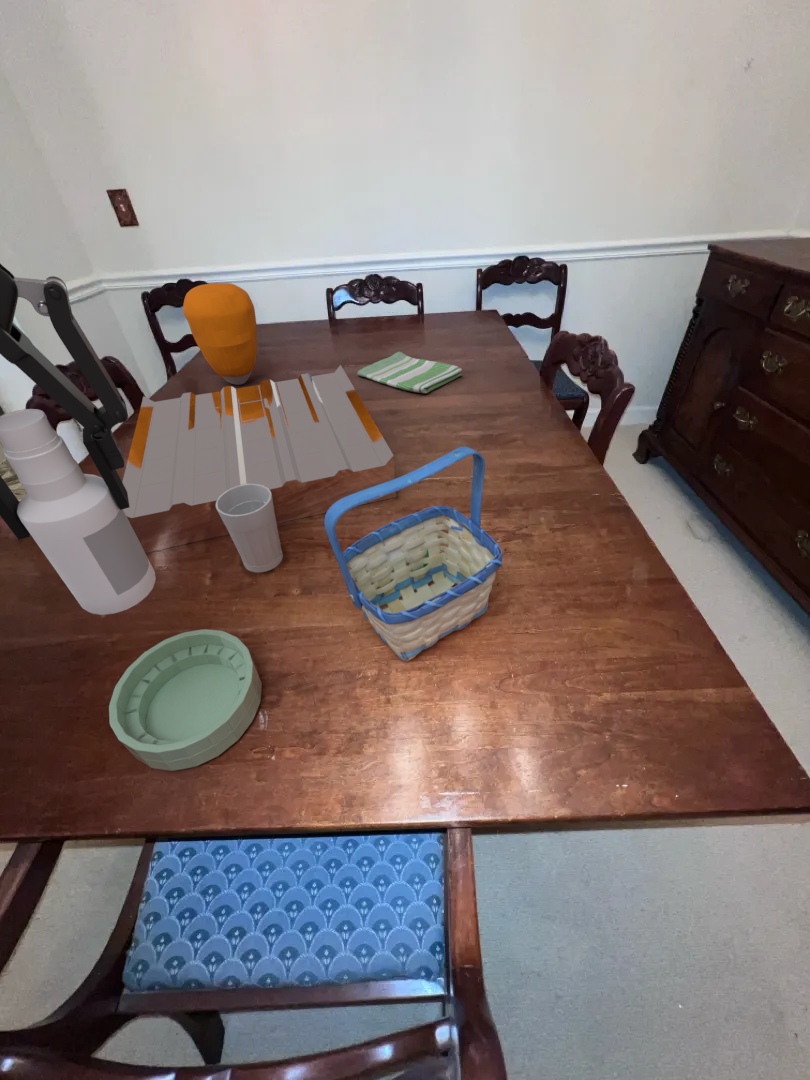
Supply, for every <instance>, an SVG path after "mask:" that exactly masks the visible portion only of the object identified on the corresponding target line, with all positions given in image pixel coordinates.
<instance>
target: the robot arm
mask: <svg viewBox="0 0 810 1080" xmlns="http://www.w3.org/2000/svg"><path fill="white" fill-rule="evenodd" d="M68 292H69V291H68V287H67V284H66V282H65V281H64V280H63V279H62V278H60V277H58V276H54V275H53V276H48V277H47V278H46V279H38V278H27V277H16V276H14V274H13V273H12V272H11V271H10V270H9V269H7V268H6V267H5V266H4V265H3V264H2V263H0V356H2V357H3V358H4V359H5V360H6V361H8V362H9V363H10V364H12V365H14V366H16V367H17V368H18V369H19V370H20V371H21V372H22V373H23V374H25V375H26V376H27V377H28V378H29V379H30V380H31V381H32V382H34V383H35V384H36V386H38V387H39V388H40V389H41V390H42V391H43V392H44V393H46V395H48V396H49V397H50V398H51V400H53V401H54V402H55V403H57V405H59V407H61V409H63V410H64V411H65V412H66V413H67V414H68V415H70V416H71V417H72V419H74V421H76V422H77V423H78V424H80V425H81V427H82V444H83V445H84V447H85V449H86V450H87V453H88V455H89V456H90V458H91V459H92V462H93V464H94V465H95V467H96V469H97V470H98V473H99V474H100V477H101V478H103V480H104V482H105V483H106V485H107V487H108V489H109V491H110V492H111V494H112V496H113V498H114V500H115V501H116V503H117V505H118V507H119V509H120V510H122V509H126V508H129V507H130V506H129V500H128V494H127V490H126V488H125V487H124V485H123V483H122V482H123V480H122V479H121V476H120V475H119V473H118V471H117V470H119V469H122V468H125V459H124V458H125V457H124V453H123V451H122V449H121V446H120V444H119V443H118V441H117V439H116V436H115V435H114V433H113V431H112V430H113V428H114V427H115V426H117V425H118V424H122V423H123V424H124V423H125V422H127V421H128V419H129V414H128V409H127V404H126V401H125V399H124V398H123V396H122V394H121V393H120V390H118V388H117V386H116V384H115V382H114V381H113V379H112V378H111V376H110V374H109V372H108V371H107V369H106V367H105V366H104V364H103V362H102V361H101V359H100V357H99V356H98V354H97V352H96V351H95V349H94V348H93V345H92V344H91V343H90V340H89V339H88V337H87V336H86V334H85V332H84V331H83V329H82V328H81V326H80V323H78V320H77V319H76V317H75V315H74V314H73V311H72V306H71V301H70V297H69V293H68ZM19 298H21V299H25V300H26V301H27V302H29V303H30V304H31V305H32V307H33V309H34V310H35V312H36V313H37V314H38V315H41V316H43V317H49V320H50V322H51V324H52V327H53V329H54V331H55V333H56V335H57V336H58V337H59V339H60V341H61V342H62V344H63V345H64V347H65V349H66V351H67V352H68V354H70V356H71V358H72V359H73V361H74V362H75V364H76V366H77V367H78V369H79V371H80V372H81V374H82V375H83V376H84V378H85V380H86V381H87V383H88V385H89V386H90V387H91V389H92V391H93V392H94V394H95V396H96V397H97V398H98V400H99V402H100V403H101V406H100V407H98V406H96V404H95V403H94V402H92V400H90V399H89V398H88V397H87V395H85V394H84V393H83V392H82V391H81V390H80V389H79V388H78V387H77V386H76V385H75V384H74V383H73V381H71V380H70V379H69V378H68V377H67V376H66V375H65V374H64V373H63V372H62V371H61V370H60V369H59V368H58V367H57V366H56V365H55V364H53V363H52V362H51V361H50V359H48V358H47V356H45V355H44V353H42V352H41V350H39V349H38V348H37V346H35V345H34V344H33V342H32V341H31V340H30V338H29V337H28V336H27V335H26V333H24V332H23V331H22V329H20V328H19V327H18V325H16V324H15V323H14V318H15V314H16V309H17V305H18V300H19ZM19 502H20V501H19V499H18V498H17V496H16V495H15V493H14V492H13V491H12V490H11V488H10V486H9V485H8V484H7V482H6V481H5V480H4V478H3V477H2V476H1V475H0V517H1V519H2V520H3V521H4V522H5V525H7V527H8V528H9V530H10V531H11V532H12V533H13V534H14V536H15V537H16V538H17V539H18V541H19V540H24V539H27V538H30V536H31V535H30V533H29V532H28V530H27V529H26V527H25V526H24V525H23V523H22V522H21V520H20V518H19V517H18V515H17V508H18V504H19Z"/></svg>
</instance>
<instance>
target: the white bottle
mask: <svg viewBox="0 0 810 1080" xmlns="http://www.w3.org/2000/svg"><path fill="white" fill-rule="evenodd" d="M0 445H1V449H2V451H3V456H4V458H5V459H6V461H7V462H8V463H9V466H10V467H11V469H12V470H13V472H14V473H15V475H16V476H17V479H18V482H19V483H20V484H21V486H22V487H23V489H24V490H25V492H26V494H25V495H24V496H23V497H22V498H21V500H20V501H19V504H18V508H17V515H18V517H19V518H20V520H21V522H22V523H23V525H24V526H25V527H26V529H27V530H28V532H29V533H30V536H31V537H32V539H33V540H34V542H35V543H36V544H37V546H38V548H39V549H40V550H41V552H42V553H43V555H44V556H45V558H46V559H47V560H48V562H49V563H50V564H51V566H52V567H53V569H54V571H56V573H57V574H58V576H59V578H60V579H61V580H62V581H63V583H64V584H65V586H66V587H67V588H68V590H69V591H70V593H71V594H72V595H73V597H74V599H75V600H76V601H77V604H78V605H79V606H80V608H82V609H83V610H85V611H86V612H88V613H90V614H92V615H99V616H107V615H113V614H117V613H120V612H123V611H128V610H129V609H131V608H132V607H134V606H136V605H138V604H139V603H141V602H142V601H143V600H145V598H146V597H148V595H149V594H150V593H151V592H152V591H153V589H154V587H155V584H156V579H157V577H156V572H155V569H154V567H153V566H152V563H151V562H150V560H149V557H148V556H147V553H145V552H144V550H143V548H142V546H141V544H140V542H139V540H138V538H137V536H136V534H135V532H134V530H133V528H132V526H131V524H130V522H129V520H128V518H127V516H126V515H125V513H124V511H123V509H122V510H120V509H119V507H118V505H117V503H116V501H115V500H114V498H113V496H112V494H111V492H110V491H109V489H108V487H107V485H106V483H105V482H104V480H103V478H102V476H99V475H96V474H90V473H84V472H83V471H82V469H81V467H80V465H79V463H78V462H77V460H76V459H75V458H74V457H73V455H72V453H71V450H70V449H69V447H68V445H67V444H66V442H65V440H64V438H63V437H62V436H61V435H59V434H58V432H57V431H56V430H55V429H54V428H53V426H52V425H51V423H50V421H49V420H48V416H47V414H46V413H45V412H44V411H43V410H41V409H39V408H25V409H18V410H14V411H10V412H7V413H5V414H3V415H0Z"/></svg>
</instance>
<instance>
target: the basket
mask: <svg viewBox="0 0 810 1080" xmlns="http://www.w3.org/2000/svg"><path fill="white" fill-rule="evenodd" d="M470 456H472V460H473V463H472V464H473V465H472V466H473V467H472V479H471V491H470V493H471V494H470V518H468V517H467V516H465V514H463V513H462V512H460V511H458V510H457V509H456V508H453V507H451V506H448V505H437V506H435V505H431V506H430V507H428V508H425V509H422V510H419V511H417V512H413V513H410V514H408V515H405V516H402V517H401V518H398V519H396V520H394V521H391V522H388V523H387V524H385V525H382V526H380V527H379V528H377V529H375V530H374V531H371V532H369V533H368V534H367V535H365V536H363V537H361V538H360V539H358V540H357V541H355V542H353V544H351V545H349V546H348V547H347V548H346V549H345V550H344V551H342V548H341V545H340V542H339V539H338V537H337V534H336V526H337V523H338V521H339V520H340V519H341V518H342V516H343V515H344V514H345V513H347V512H349V511H350V510H352V509H354V508H356V507H358V506H362V505H361V504H363V505H365V504H364V503H366V502H369V501H372V500H374V499H377V498H380V497H383V496H385V495H388V494H391V493H393V492H396V493H397V492H398V491H401V490H404V489H406V488H408V487H412V486H414V485H415V484H418V483H420V482H421V481H423V480H427V479H428V478H430V477H432V476H434V475H435V474H438V473H439V472H441V471H443V470H445V469H446V468H449V467H450V466H452V465H454V464H456V463H458V462H460V461H461V460H462V461H463V459H466V458H467V457H470ZM485 472H486V461H485V457H484V455H483V454H482V453H481V452H479V451H477V450H475V449H473V448H471V446H466V445H465V446H460V447H457V448H455V449H453V450H451V451H450V452H448V453H446V454H444V455H442V456H440V457H439V458H436V459H435V460H432V461H430V462H429V463H427V464H425V465H423V466H421V467H419V468H417V469H415V470H412V471H410V472H408V473H406V474H404V475H401V476H399V477H395V479H393V480H390V481H388V482H385V483H382V484H379V485H377V486H374V487H371V488H368V489H365V490H362V491H359V492H357V493H354V494H351V495H349V496H346V497H344V498H342V499H340V500H338V501H337V502H335V503H334V504H333V505H332V506H331V507H330V508H329V510H328V511H327V513H325V517H324V521H323V523H324V529H325V533H326V535H327V538H328V541H329V543H330V546H331V549H332V552H333V554H334V557H335V559H336V562H337V564H338V566H339V569H340V572H341V575H342V577H343V580H344V582H345V585H346V589H347V591H348V595H349V597H350V600H351V602H352V604H353V605H354V606H355V607H356V608H357V610H358V611H363V616H364V618H365V619H366V621H367V622H368V623H370V624H371V626H372V627H373V629H374V632H375V633H376V634H377V635H378V636H379V637H380V638H381V640H382V641H383V643H384V644H386V645H387V646H388V647H389V648H390V649H391V651H393V653H394V654H395V655H396V656H397V657H398V658H399V659H400V660H401V661H404V662H409V661H411V660H412V659H414V658H416V656H417V655H419V654H420V653H421V652H422V651H425V650H427V649H430V648H432V647H433V646H434V645H435V644H437V642H438V641H439V640H440V639H442V638H445V637H446V636H447V635H450V634H452V633H453V632H455V631H461V630H463V629H464V628H465V627H467V626H468V625H469V624H471V622H473V620H474V619H477V618H479V617H481V616H482V615H484V614H485V613H487V612H488V610H489V597H490V596H489V595H490V593H491V592H492V590H493V583H494V581H495V580H496V576H497V574H496V571H498V570H499V568H500V567H502V566H503V550H502V548H501V546H500V545H499V543H498V542H496V540H495V539H494V538H493V537H492V536H491V535H490V534H489V533H488V532H487V531H485V529H483V528H481V519H482V518H481V515H482V501H483V492H484V482H485ZM445 517H446V518H445ZM447 517H448V518H449V519H447ZM438 523H439V524H438ZM446 531H448V532H446ZM407 564H408V565H407ZM355 581H356V582H355ZM431 582H433V583H432V584H430V585H429V583H431ZM454 585H455V586H454ZM415 590H416V592H415ZM400 598H401V599H400ZM385 605H387V607H385V608H383V609H382V608H381V607H382V606H385Z"/></svg>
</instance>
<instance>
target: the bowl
mask: <svg viewBox="0 0 810 1080" xmlns="http://www.w3.org/2000/svg"><path fill="white" fill-rule="evenodd" d="M262 688H263V684H262V680H261V677H260V674H259V671H258V668H257V666H256V663H255V661H254V659H253V657H252V654H251V652H250V650H249V648H248V647H247V645H245V643H243V641H241V640H240V638H239V637H237V636H235V635H233V634H231V633H228V632H226V631H224V630H217V629H209V628H208V629H207V628H202V629H196V630H190V631H185V632H181V633H179V634H176V635H173V636H170V637H168V638H165V639H163V640H162V641H160V642H158V643H157V644H155V645H154V646H152V647H150V648H149V649H146V651H144V652H143V653H142V654H141V655H140V656H139V657H138V658H136V660H134V662H132V663H131V664H130V665H129V666H128V667H127V668H126V670H125V671H124V673H123V674H122V675H121V677H120V678H119V680H118V682H117V683H116V684H115V686H114V689H113V692H112V694H111V698H110V701H109V704H108V716H109V726H110V728H111V729H112V731H113V733H114V734H115V737H116V738H117V740H118V741H119V742H120V743H121V744H122V745H123V746H124V747H125V748H126V749H127V751H128V752H129V753H130V754H131V755H132V756H133V757H134V758H135V759H136V760H138V761H139V762H140V763H142V764H144V765H146V766H147V767H149V768H151V769H155V770H163V771H170V772H175V771H181V770H185V769H190V768H195V767H198V766H201V765H202V764H205V763H207V762H209V761H211V760H213V759H216V758H218V757H219V756H221V754H223V753H224V752H225V751H227V750H228V749H229V748H230V747H231V746H232V745H234V744H235V743H236V742H238V741H239V740H240V738H241V737H242V736H243V734H244V733H245V732H246V731H247V730H248V728H249V726H250V725H251V724H252V723H253V721H254V719H255V717H256V714H257V711H258V709H259V707H260V704H261V701H262Z"/></svg>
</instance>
